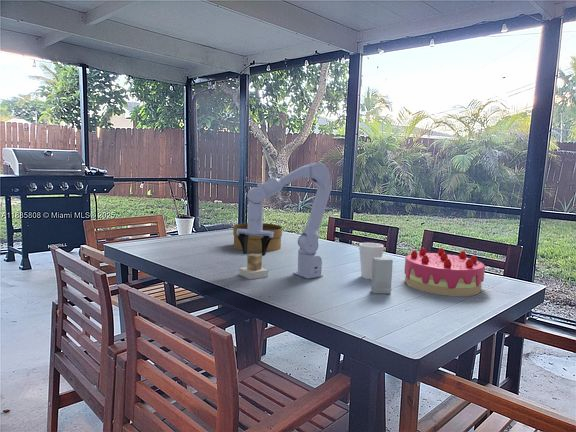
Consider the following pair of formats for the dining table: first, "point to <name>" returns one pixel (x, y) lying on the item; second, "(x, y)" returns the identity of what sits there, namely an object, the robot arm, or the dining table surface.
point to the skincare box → (381, 275)
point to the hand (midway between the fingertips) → (254, 254)
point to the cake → (444, 273)
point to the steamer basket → (259, 238)
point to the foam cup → (369, 257)
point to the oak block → (254, 262)
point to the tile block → (253, 273)
